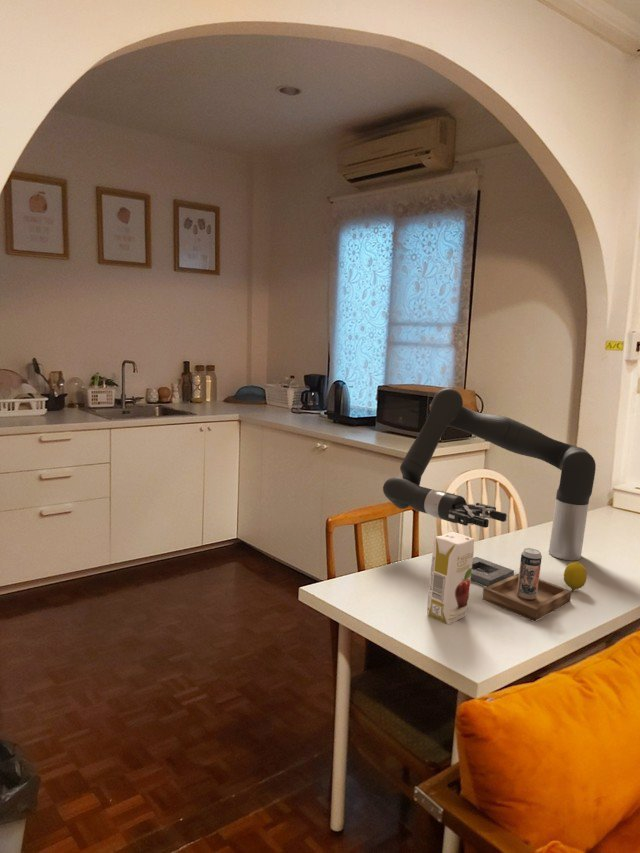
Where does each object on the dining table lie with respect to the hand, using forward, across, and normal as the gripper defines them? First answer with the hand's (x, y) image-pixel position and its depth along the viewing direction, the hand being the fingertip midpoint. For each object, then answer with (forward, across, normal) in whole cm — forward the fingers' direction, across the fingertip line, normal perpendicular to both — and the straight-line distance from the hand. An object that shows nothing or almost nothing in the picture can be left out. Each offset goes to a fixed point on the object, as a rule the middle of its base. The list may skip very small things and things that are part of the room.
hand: (497, 520), depth 161 cm
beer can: (+10, 0, +17) cm, 20 cm away
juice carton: (+3, -24, +18) cm, 30 cm away
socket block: (-6, +5, +18) cm, 19 cm away
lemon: (+14, +16, +18) cm, 29 cm away
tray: (+10, 0, +18) cm, 21 cm away
